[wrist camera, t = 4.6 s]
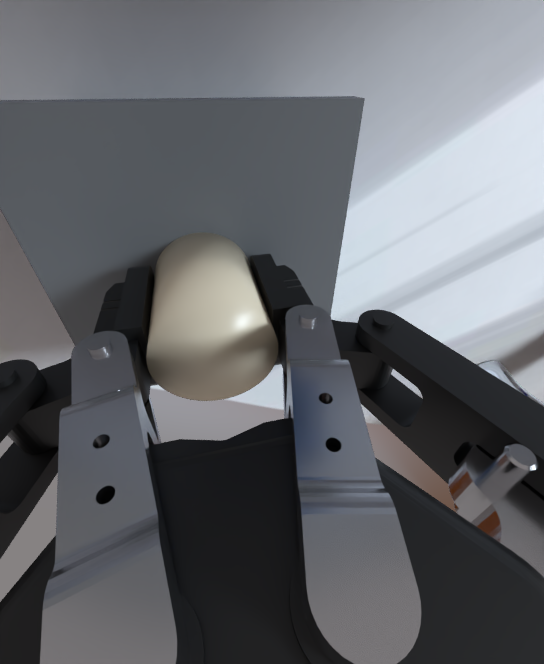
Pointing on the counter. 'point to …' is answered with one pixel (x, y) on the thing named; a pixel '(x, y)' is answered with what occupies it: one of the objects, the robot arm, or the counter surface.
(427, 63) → the counter surface
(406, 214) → the counter surface
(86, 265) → the lid
